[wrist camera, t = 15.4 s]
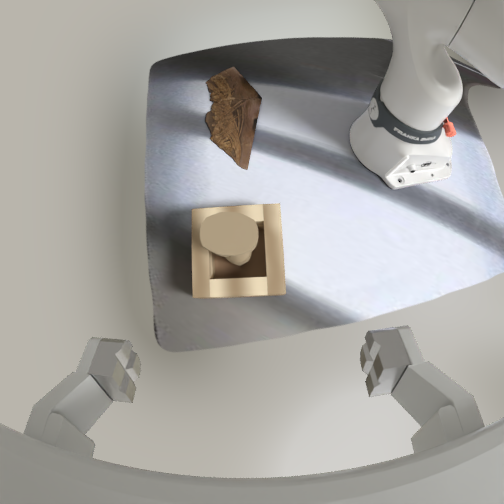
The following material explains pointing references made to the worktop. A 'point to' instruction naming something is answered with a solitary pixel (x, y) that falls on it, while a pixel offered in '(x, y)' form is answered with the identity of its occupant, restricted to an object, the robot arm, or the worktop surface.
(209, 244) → the handle
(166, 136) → the worktop surface
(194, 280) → the socket block
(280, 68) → the worktop surface
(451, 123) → the robot arm
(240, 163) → the wooden fragment
